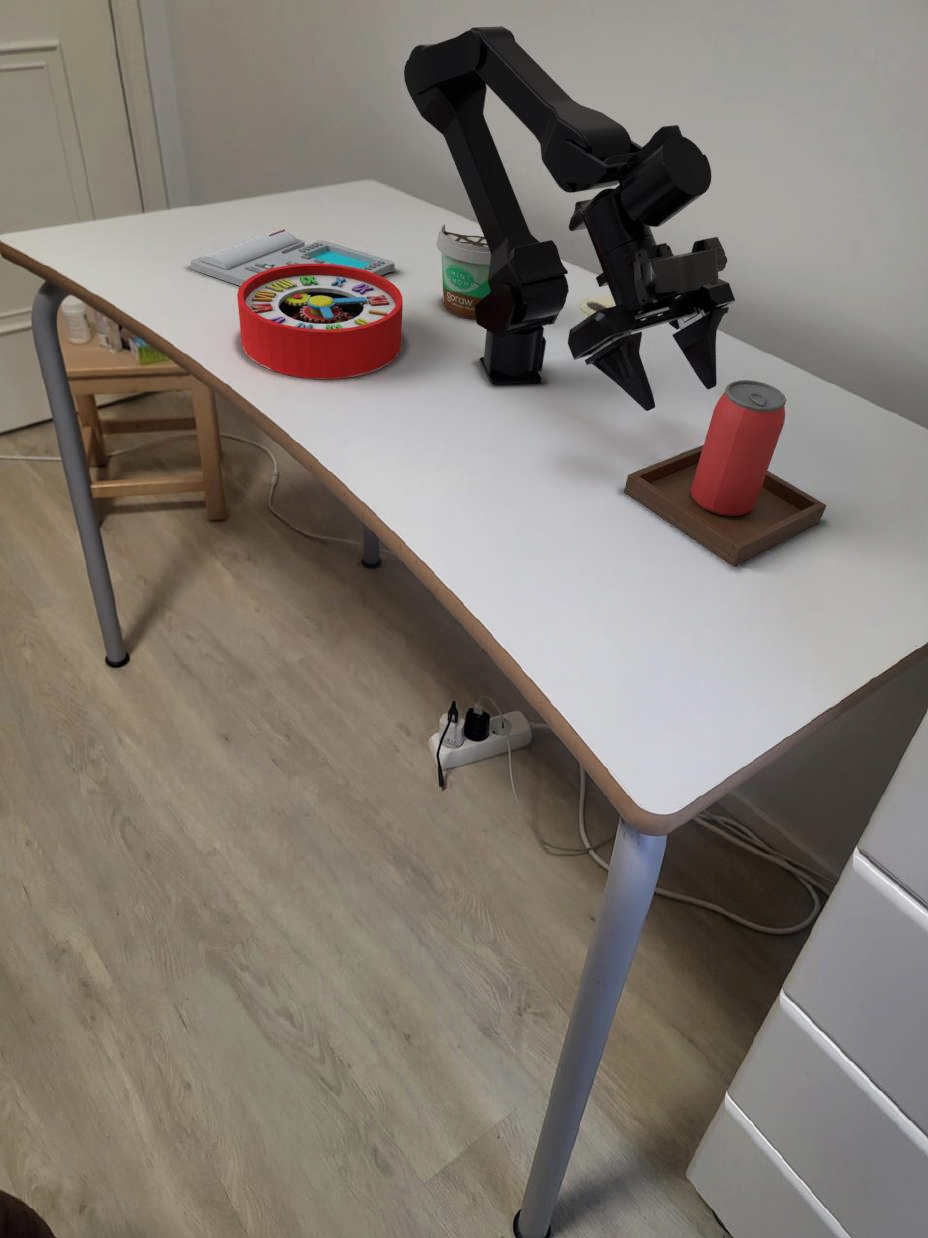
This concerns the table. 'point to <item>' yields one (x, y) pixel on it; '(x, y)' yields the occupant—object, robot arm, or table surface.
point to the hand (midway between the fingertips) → (682, 398)
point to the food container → (463, 272)
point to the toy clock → (320, 320)
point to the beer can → (738, 448)
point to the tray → (728, 537)
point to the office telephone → (282, 257)
